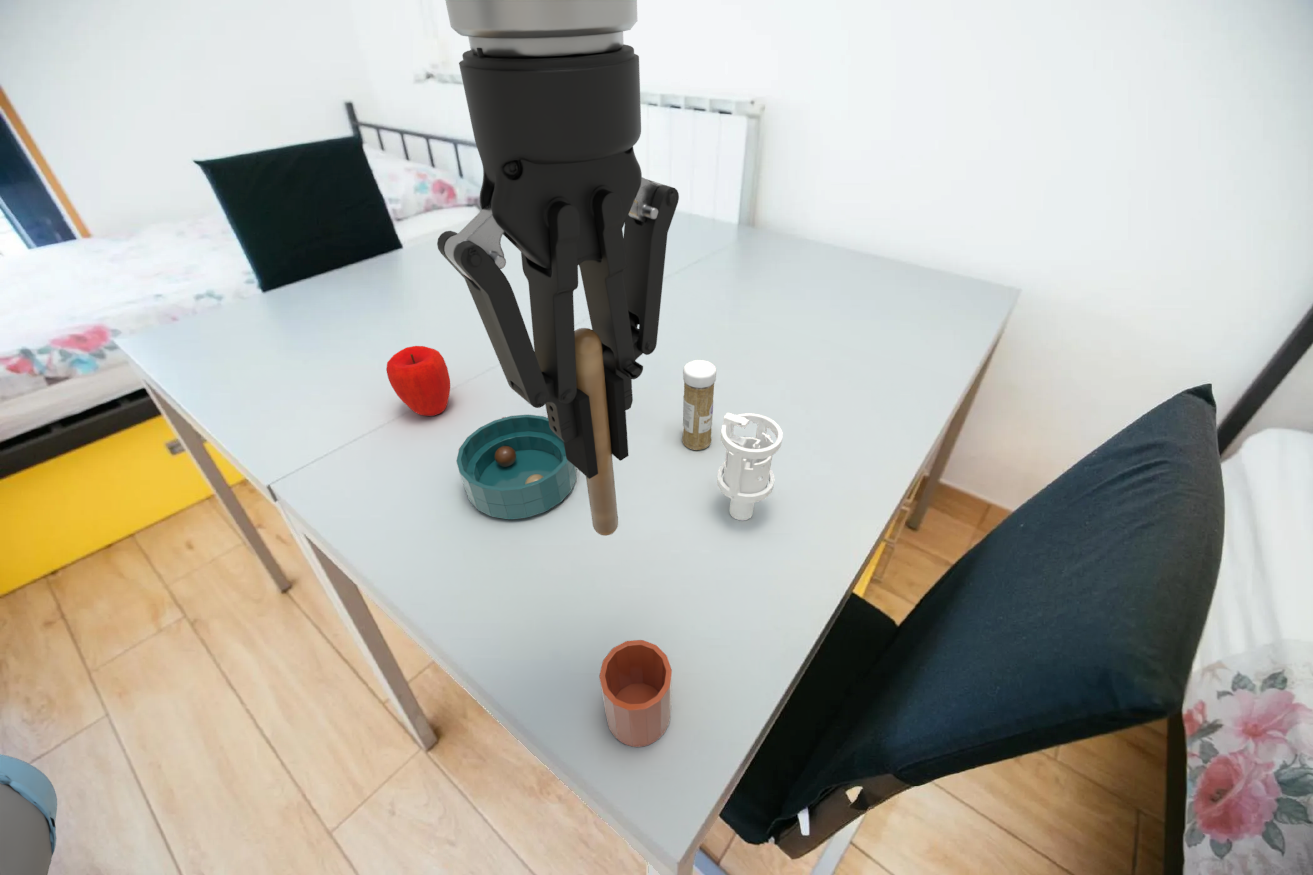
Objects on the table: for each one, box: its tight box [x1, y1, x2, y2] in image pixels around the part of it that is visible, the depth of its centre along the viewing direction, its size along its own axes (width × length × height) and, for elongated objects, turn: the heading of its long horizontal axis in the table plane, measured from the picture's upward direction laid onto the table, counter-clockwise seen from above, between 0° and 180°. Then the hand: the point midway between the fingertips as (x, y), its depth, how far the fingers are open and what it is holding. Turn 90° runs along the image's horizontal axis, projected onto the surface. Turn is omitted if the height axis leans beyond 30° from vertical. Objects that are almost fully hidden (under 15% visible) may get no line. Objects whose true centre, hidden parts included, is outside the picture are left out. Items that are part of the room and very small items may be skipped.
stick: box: [574, 327, 619, 537], centre depth 37 cm, size 2×2×18 cm
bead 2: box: [525, 474, 543, 484], centre depth 73 cm, size 3×3×3 cm
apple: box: [386, 345, 451, 417], centre depth 86 cm, size 9×9×11 cm
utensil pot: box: [598, 639, 673, 748], centre depth 50 cm, size 6×6×8 cm
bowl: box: [456, 414, 577, 520], centre depth 75 cm, size 15×15×6 cm
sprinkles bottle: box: [681, 359, 717, 451], centre depth 78 cm, size 5×5×13 cm
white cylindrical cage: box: [716, 412, 784, 522], centre depth 67 cm, size 7×7×15 cm
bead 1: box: [495, 446, 516, 467], centre depth 77 cm, size 3×3×3 cm
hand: (597, 456), depth 38 cm, fingers closed on stick, 2 cm apart
